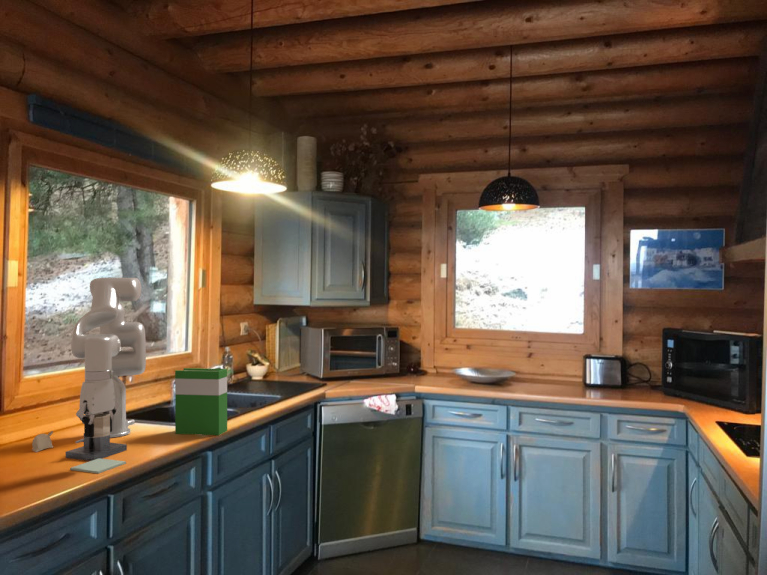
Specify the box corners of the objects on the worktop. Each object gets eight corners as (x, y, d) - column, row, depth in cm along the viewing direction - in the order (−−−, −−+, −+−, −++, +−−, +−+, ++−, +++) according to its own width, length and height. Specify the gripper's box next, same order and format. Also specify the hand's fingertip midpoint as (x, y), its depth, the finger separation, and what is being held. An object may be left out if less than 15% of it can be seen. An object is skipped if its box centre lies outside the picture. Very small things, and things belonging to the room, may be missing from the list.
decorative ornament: (27, 451, 203) (27, 435, 203) (50, 445, 211) (50, 430, 211) (36, 452, 201) (35, 436, 201) (58, 446, 209) (58, 431, 209)
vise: (98, 447, 208) (98, 412, 208) (126, 450, 203) (126, 414, 204) (64, 457, 195) (64, 420, 195) (93, 461, 190) (93, 423, 190)
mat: (98, 460, 192) (98, 458, 192) (125, 463, 188) (125, 461, 188) (70, 469, 181) (70, 467, 181) (98, 473, 177) (98, 471, 177)
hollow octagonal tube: (98, 432, 188) (98, 413, 189) (114, 433, 186) (114, 414, 186) (82, 436, 182) (82, 417, 183) (98, 438, 180) (98, 418, 180)
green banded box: (175, 433, 227) (175, 370, 227) (184, 429, 234) (184, 368, 234) (218, 435, 224) (218, 371, 224) (227, 430, 231) (227, 368, 231)
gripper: (110, 372, 194) (110, 427, 194) (65, 379, 178) (65, 439, 178) (128, 373, 191) (128, 429, 191) (84, 380, 175) (85, 441, 175)
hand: (98, 433), depth 184 cm, fingers closed on hollow octagonal tube, 6 cm apart
